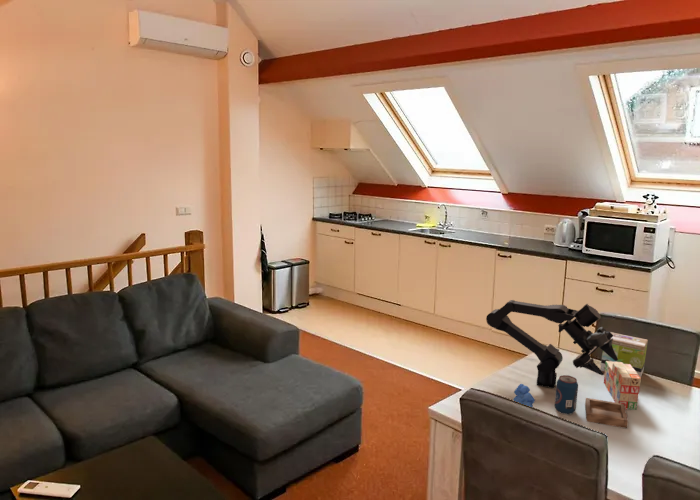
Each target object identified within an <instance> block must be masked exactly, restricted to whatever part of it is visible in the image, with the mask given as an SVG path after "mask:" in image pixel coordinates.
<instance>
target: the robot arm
mask: <svg viewBox="0 0 700 500" xmlns="http://www.w3.org/2000/svg"><path fill="white" fill-rule="evenodd" d="M511 313H516V314H517V313H518V314H523V315H529V316H534V317H541V318H544V319H546V320H547V321H550V322H552V323H556V324H558V332H559V333H561V332H563V331H565V332H566V334H567V335H569V337H570V338H571V339H573V345H578V347H580V349H581V350H580V352H581V354H578V355H577V356H576V357H575V358H574V359H573V360H572V364H573V366H574V367H575V368H576V369H578V368H580V369H581V368H583V369H587V370H589V371H592V372H593V373H596V374H597V375H600V376H604V374H605V372H604V371H601V370H600V369H601V367H599V366H598V365H597V363H595V361H594V358H591V355H592V354H593V353H594V352H595V351H596V350H597V349H598V348H599V349H600V350H602V352H603V351H604V352H605V353H606V354H608V355H609V356H610V357H611V358H612V359H614V360H615V361H617V360H618V358H617V356H616V354H615V352H614V350H613V347H612V340H613V338H612V337H613V334H612V333H611V332H612V331H609V330H606V328H604V327H603V326H601V327H598V329H597V330H596V331H595V332H594V333H593V332H592V331H591V330H589V329H588V330H587V329H585V327H586V328H589V327H590V326H592V325H593V324H595V323H596V322H597V321H599V320H600V319H602V318H601V317H602V316H601V314H600V313H599V311H598V310H597V309H596V308H594V307H593V306H591V305H590V304H589V303H586V304H585V305H583V306H582V307H581V308H580V309H579V310H576V309H571V308H569V307H568V306H567V305H564V304H550V305H549V304H547V305H543V304H536V303H530V302H524V301H523V302H522V301H518V300H514V299H510V300H508V301H507V302H506V303H505V304H504V305H502V307H500V308H494V309H493V310H492V311H490V312H489V313H488V314H487V315H486V319H485V320H486V323H487V326H489V327H492V328H493V329H495V330H497V331H502V332H504V333H506V334H507V335H509V336H510V337H511V338H513V339H514V340H515V341H517V342H519V344H521V345H522V346H523V347H524V348H527V349H528V350H529V351H530V352H532V353H534V354H535V356H536V357H537V359H538V360H539V362H538V363H537V365H536V368H537V377H536V386H538V387H544V388H551V389H554V388H555V386H557V374H558V373H557V372H556V369H557V368H559V366H560V364H561V363H562V361H563V354H562V352H560V349H559V348H557V347H555V346H554V345H553V344H552V343H550V344H548V345H544V344H543V343H541V342H540V341H538V340H537V339H536V338H534V337H533V336H531V335H530V334H529V333H527V332H526V331H524V330H523V329H521V328H520V327H519V326H517V325H516V324H515V323H513V321H512V320H511V318H510V317H509V314H511ZM611 338H612V339H611Z"/></svg>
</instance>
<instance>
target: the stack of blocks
mask: <svg viewBox="0 0 700 500" xmlns="http://www.w3.org/2000/svg"><path fill="white" fill-rule="evenodd" d="M603 376H604V378H603V384H604V385H605V387H606V390H607V391H608V393H609V395H610V396H611V397H612V399H613V402H615V403H621V404H624V405H625V410H636V411H637V408H638V404H639V403H638V400H639V394H640V389H641V380H642V379H641V378H642V377H641V378H640V377H639V375H638V373H637V372H636V371H635V370H634V368H633V367H632V366H631V365H630V364H623V363H622V362H612V361H606V362H605V372H604V375H603Z"/></svg>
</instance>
